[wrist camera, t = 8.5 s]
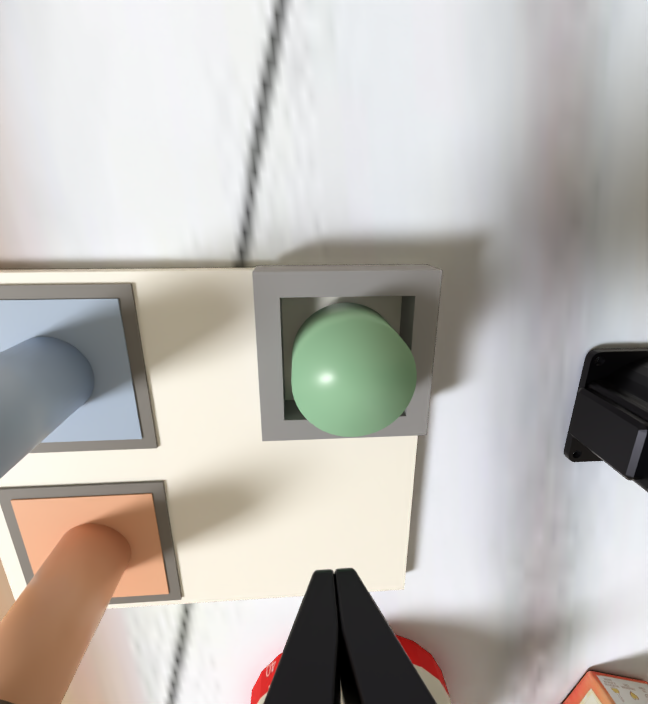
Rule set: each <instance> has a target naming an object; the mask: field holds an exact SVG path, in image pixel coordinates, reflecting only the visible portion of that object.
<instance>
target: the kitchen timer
mask: <svg viewBox="0 0 648 704" xmlns="http://www.w3.org/2000/svg"><path fill="white" fill-rule="evenodd" d="M395 636H396V637H397V639H398V640H399V642H400V644H401V645H402V647H403V649H404V650H405V652H406V654H407V655H408V657H409V658H410V660H411V662H412V663H413V665H414V667H415V668H416V670H417V672H418V673H419V675H420V676H421V678H422V680H423V681H424V683H425V685H426V686H427V688H428V689H429V691H430V693H431V694H432V696H433V698H434V699H435V701H436V703H437V704H451V700H450V696H449V693H448V690H447V687H446V684H445V681H444V678H443V674H442V671H441V670H440V668H439V666H438V665H437V663H436V661H435V660H434V658H433V656H432V655H431V654H430V653H428V652H427V651H426V650H425V649H423V648H422V647H421V646H419V645H418V644H417V643H415V642H414V641H411V640H409V639H406V638H403V637H401V636H398V635H395ZM281 656H282V653H281V654H279V655H278V656H277V657H276V658H275V659H274V660H273V661H272V662H271V663H270V664H269V665H268V666H267V667H266V668H265V669H264V670H263V671H262V672H261V674H260V676H259V678H258V680H257V682H256V684H255V686H254V687H253V689H252V696H251V704H263V703H264V700H265V698H266V695H267V692H268V690H269V687H270V684H271V682H272V679H273V677H274V674H275V671H276V669H277V666H278V663H279V661H280V658H281ZM341 704H343V701H342V692H341Z"/></svg>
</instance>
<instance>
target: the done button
mask: <svg viewBox="0 0 648 704" xmlns="http://www.w3.org/2000/svg"><path fill="white" fill-rule="evenodd" d="M416 381H417V371H416V364H415V361H414V357H413V355H412V353H411V351H410V349H409V347H408V346H407V344H406V343H405V342H404V341H403V339H402V338H401V337H400V336H399V335H398V334H397V333H396V331H395V330H394V329H393V328H392V327H391V326H390V325H389V323H388V322H387V321H386V320H385V319H384V318H383V317H382V316H381V315H380V314H379V313H378V312H376V311H375V310H373V309H371V308H369V307H367V306H364V305H361V304H356V303H346V302H345V303H336V304H332V305H329V306H326V307H324V308H322V309H320V310H318V311H316V312H315V313H313V314H312V315H311V316H310V317H309V318H307V319H306V321H305V322H304V323H303V324H302V325H301V327H300V328H299V330H298V332H297V334H296V336H295V339H294V342H293V347H292V378H291V385H292V393H293V397H294V400H295V402H296V405H297V407H298V408H299V410H300V412H301V413H302V414H303V416H304V417H305V418H306V419H307V420H308V421H309V422H310V423H311V424H313V425H314V426H316V427H317V428H319V429H321V430H322V431H325V432H327V433H330V434H333V435H337V436H343V437H358V436H364V435H369V434H372V433H375V432H377V431H379V430H382V429H384V428H385V427H387V426H388V425H390V424H391V423H393V422H394V421H395V420H396V419H397V418H398V417H399V416H400V415H401V414H402V413H403V412H404V411H405V409H406V408H407V406H408V405H409V403H410V401H411V399H412V397H413V394H414V391H415V387H416Z"/></svg>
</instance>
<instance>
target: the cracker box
mask: <svg viewBox="0 0 648 704" xmlns="http://www.w3.org/2000/svg"><path fill="white" fill-rule="evenodd" d="M563 704H648V683H647V682H646V681H642V680H636V679H631V678H626V677H620V676H615V675H610V674H605V673H600V672H594V671H588V672H587V673H586V674H585V676H584V677H583V678H582V679H581V681H580V682H579V683H578V685H577V686H576V687H575V689H574V690H573V691H572V692H571V694H570V695H569V696H568V697H567V699H566V700H565V701H564V702H563Z"/></svg>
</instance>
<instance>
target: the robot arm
mask: <svg viewBox="0 0 648 704" xmlns="http://www.w3.org/2000/svg"><path fill="white" fill-rule="evenodd" d="M598 357H599V359H598V361H597V362H595V360H596V359H597V358H598ZM575 451H576V452H575ZM574 452H575V453H574ZM573 453H574V454H573ZM564 455H565V456H566V457H567V458H568V459H569V460H571V461H572V462H586V461H604V462H606V463H607V464H608V465H609V466H611V467H612V468H613V469H614V470H616V471H617V472H618V473H619V474H621V475H622V476H623V477H624V478H626V479H627V480H633V481H634V482H635V483H637V484H638V485H639V486H641V487H642V488H643V489H644V490H646V491H647V492H648V348H626V349H595V350H592V351H590V352H589V353H588V354H587V355H586V358H585V361H584V366H583V370H582V374H581V379H580V383H579V387H578V392H577V396H576V400H575V405H574V409H573V413H572V418H571V422H570V426H569V431H568V435H567V439H566V444H565V448H564ZM341 692H342V701H343V704H437V703H436V701H435V699H434V698H433V696H432V694H431V693H430V691H429V689H428V688H427V686H426V685H425V683H424V681H423V680H422V678H421V676H420V675H419V673H418V672H417V670H416V668H415V667H414V665H413V663H412V662H411V660H410V658H409V657H408V655H407V654H406V652H405V650H404V649H403V647H402V645H401V644H400V642H399V640H398V639H397V637H396V636H395V634H394V632H393V631H392V629H391V627H390V626H389V624H388V623H387V621H386V619H385V618H384V616H383V614H382V613H381V611H380V609H379V608H378V606H377V605H376V603H375V601H374V600H373V598H372V596H371V595H370V593H369V592H368V590H367V588H366V587H365V585H364V583H363V582H362V580H361V578H360V577H359V575H358V574H357V572H356V571H355V569H353V568H338V569H336V570H335V571H333V570H332V569H323V570H315V571H314V572H313V574H312V577H311V579H310V582H309V585H308V587H307V590H306V592H305V595H304V598H303V600H302V603H301V606H300V608H299V611H298V613H297V616H296V619H295V621H294V624H293V627H292V629H291V632H290V634H289V637H288V640H287V642H286V645H285V648H284V650H283V653H282V656H281V658H280V661H279V663H278V666H277V669H276V671H275V674H274V677H273V679H272V682H271V684H270V687H269V690H268V692H267V695H266V698H265V700H264V703H263V704H341Z"/></svg>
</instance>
